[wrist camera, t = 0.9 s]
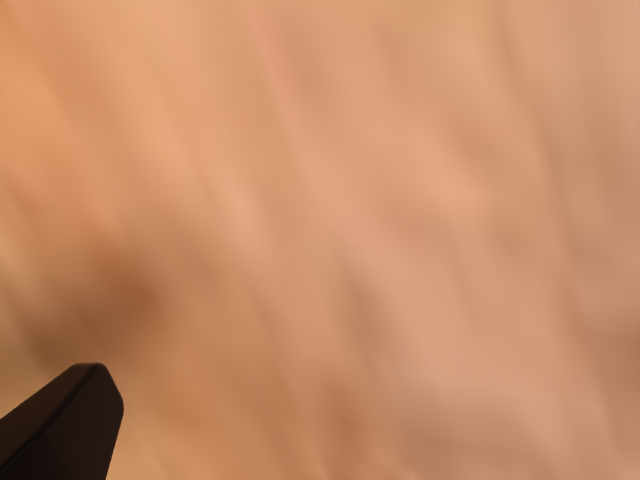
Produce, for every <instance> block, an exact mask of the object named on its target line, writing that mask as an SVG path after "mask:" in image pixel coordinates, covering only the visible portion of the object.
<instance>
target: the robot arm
mask: <svg viewBox="0 0 640 480" xmlns="http://www.w3.org/2000/svg"><path fill="white" fill-rule="evenodd" d="M123 412H124V404H123V399H122V397H121V395H120V393H119V391H118V389H117V387H116V385H115V383H114V381H113V379H112V377H111V375H110V373H109V371H108V369H107V367H106V366H105V365H103V364H102V363H77V364H74V365H72V366H71V367H69V368H68V369H67V370H65V371H64V372H63V373H61V374H60V375H59V376H57V377H56V378H55V379H53V380H52V381H51V382H49V383H48V384H47V385H45V386H44V387H43V388H41V389H40V390H39V391H37V392H36V393H35V394H33V395H32V396H31V397H29V398H28V399H27V400H25V401H24V402H23V403H21V404H20V405H19V406H17V407H16V408H15V409H13V410H12V411H11V412H9V413H8V414H7V415H5V416H4V417H3V418H1V419H0V480H106V476H107V473H108V469H109V465H110V462H111V458H112V454H113V451H114V447H115V443H116V440H117V436H118V432H119V429H120V425H121V421H122V418H123Z"/></svg>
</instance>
